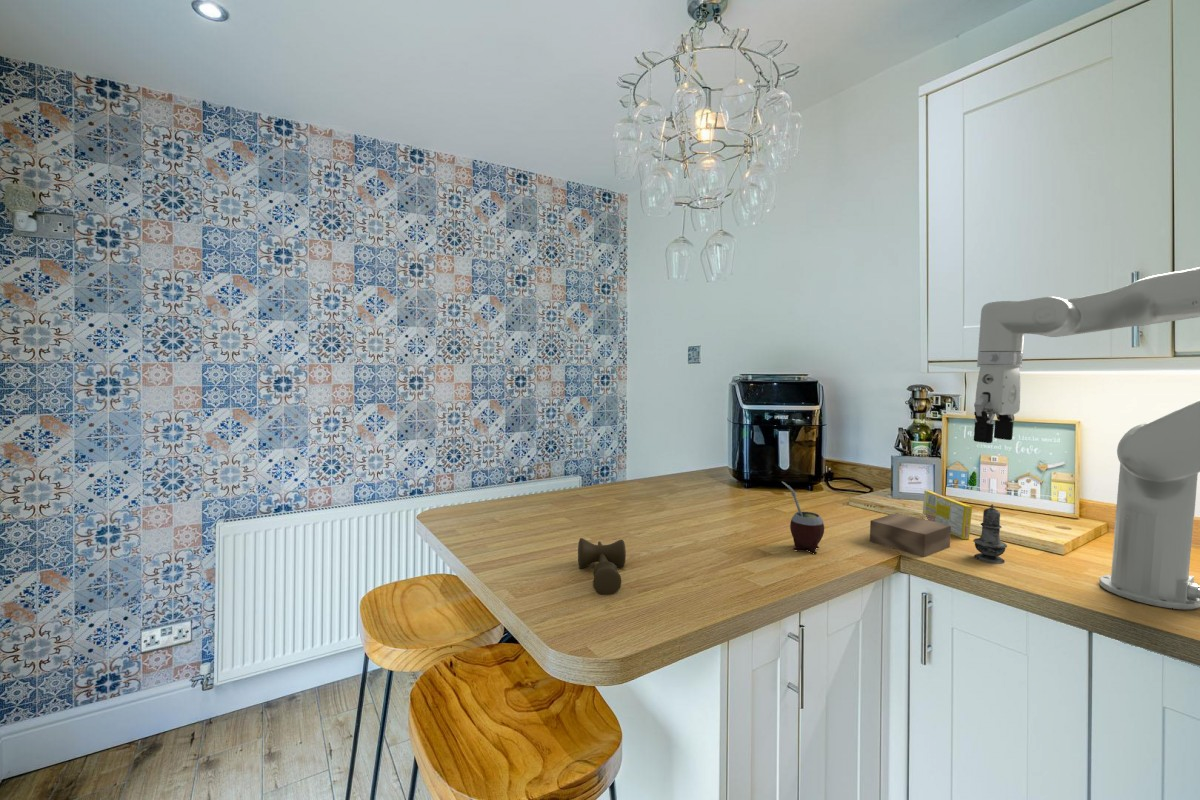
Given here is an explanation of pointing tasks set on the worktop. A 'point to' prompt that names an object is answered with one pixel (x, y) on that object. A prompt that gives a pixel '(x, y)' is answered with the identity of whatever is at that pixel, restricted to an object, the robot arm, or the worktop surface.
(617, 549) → the kendama
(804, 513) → the mate gourd
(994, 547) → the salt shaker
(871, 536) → the walnut block
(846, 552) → the worktop surface
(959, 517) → the candy box
